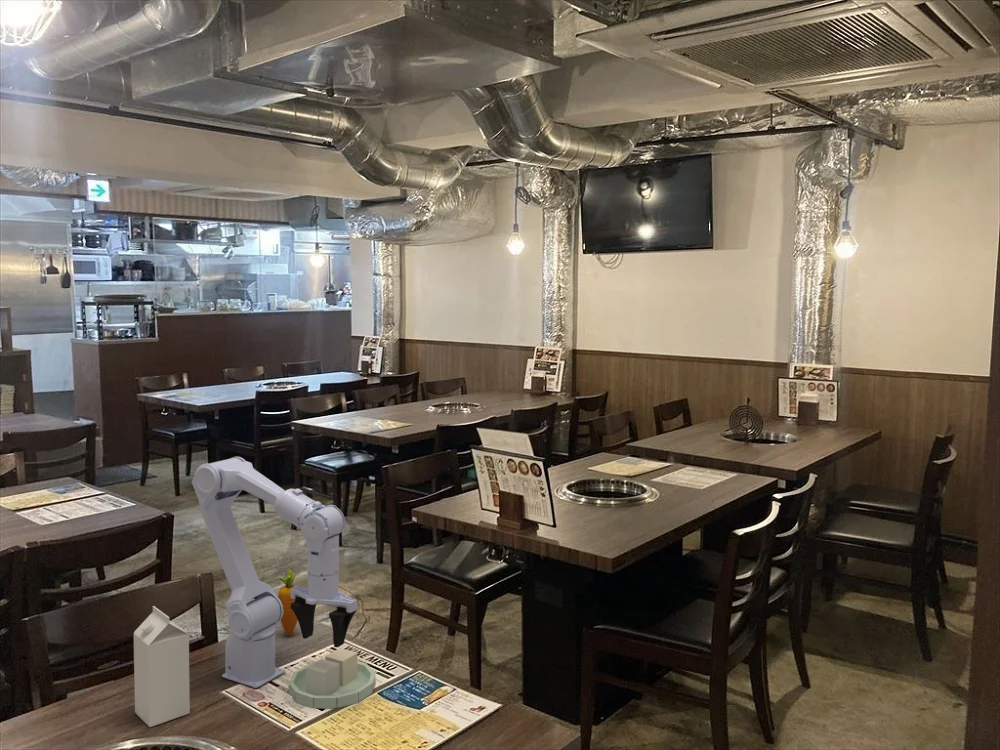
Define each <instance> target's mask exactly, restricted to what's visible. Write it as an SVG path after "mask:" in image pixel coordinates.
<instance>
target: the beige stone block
mask: <svg viewBox="0 0 1000 750" xmlns="http://www.w3.org/2000/svg"><path fill="white" fill-rule="evenodd" d="M324 660H328V661H331V662H335V663H338V664H339V685H340V686H344V685H346V684H347V683H349V682H350V681H352V680H353V679H355V678H357V661H358V652H355V651H352V650H349V649H345V648H341V647H338V648H337V649H335V650H334V651H332V652H331V653H329V654H327V655H325V657H324Z"/></svg>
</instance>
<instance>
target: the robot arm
mask: <svg viewBox="0 0 1000 750" xmlns="http://www.w3.org/2000/svg"><path fill="white" fill-rule="evenodd" d="M253 466H254V465H253V463H252V462H249V461H246V459H244V458H243V457H241V456H233V457H231V458H228V459H223V460H218V461H214V462H210V463H203V464H200V465H199V466H198V467H197V468H196V471H195V473H194V475H193V478H192V480H191V485H192V487H193V490H194V492H195V495H196V496H197V499H198V504H199V510H200V514H201V516H202V519H203V521H204V524H205V526H206V527H205V528H206V529H207V531H208V533H209V537H210V539H211V542H212V545H213V547H214V549H215V552H216V555H217V557H218V560H219V562H220V565H221V567H222V570H223V572H224V575H225V577H226V580H227V583H228V585H229V587H230V590H231V594H230V596H229V598H228V600H227V603H226V604H225V609H226V611H227V617H228V618H227V620H228V626H229V627H228V628H229V630H230V631H231V632H230V633H229V635H228V636H227V637H226V641H225V645H224V650H225V653H224V654H225V655H224V659H225V660H224V661H225V662H224V663H225V668H224V669H225V671H224V672H225V673H223V674H222V675H221V677H222V678H224V679H226V680H230V681H233V682H235V683H239V684H242V685H245V686H247V687H250V688H255V689H258V688H260V687H262V686H264V685H265V684H266V683H269V682H271V681H272V680H274V679H276V678H278V677H279V676H282V675H283V674H285V673H286V672H285V671H286V670H285V669H283V668H280V667H276V630H277V628H278V623H279V622H281V618H282V616H283V605H282V603H281V601H280V599H279V598H278V596H277V595H276V594H275V592H274V590H273V588H272V586H271V585H270V584H267V583H266V582H263V581H262V580H261V579H259V576H258V574H257V571H256V568H255V567H254V564H253V561H252V559H251V556H250V553H249V550H248V548H247V546H246V543H245V541H244V538H243V536H242V533H241V531H240V529H239V526H238V524H237V521H236V519H235V516H234V513H233V511H232V505H233V503H234V501H235V500H236V498H238V496H239V495H240V493H241V492H242V491H245V492H247V493H248V494H251V495H252V496H254V497H257V498H259V499H261V500H262V501H265V502H266V503H268V504H270V505H271V506H272V505H273V506H274V511H275V514H276V515H278V516H279V517H280V518H282V519H283V520H285V521H287V522H289V523H291V524H292V525H294V526H295V527H297V528H299V529H300V531H301V534H302V536H303V538H304V539H305V545H306V546H305V548H307V586H302V585H296V587H293V588H291V598H292V599H295V602H293V603H291V609H292V610H293V612H294V614H295V615H296V617H297V623H298V625H299V628H300V632H301V636H302V639H308V638H310V637H312V636H313V634H314V630H315V629H314V627H315V626H314V624H315V623H314V622H315V612H316V606H317V605H324V606H328V607H332V608H335V609H334V610H332V611H331V612H329V613H328V616H329V617H328V618H329V619H330V622H331V626H332V642H333V643H332V644H333V647H334V648H340V647H341V646H343V645H344V644H345V641H346V636H347V632H348V629H349V626H350V624H351V621H352V619H353V618H354V616H355V613H356V612H357V610H358V600H357V599H356V598H353V597H350V596H349V595H346V594H345V593H343V592H341V591H340V589H339V584H340V583H339V581H340V577H339V576H340V574H339V571H340V570H339V569H340V535H339V534H341V533H342V532H343V531H344V528H345V527H346V518H345V515H344V513H343V512H342V511H341V509H340V508H338V507H337V506H336V505H334V504H328V505H324V504H322V502H320V501H319V500H317V501H316V500H314V499H313V498H310V497H309V496H307V495H306V494H304V493H303V492H304V491H303V490H301V488H289V489H286V490H285V489H283V488H282V487H280V486H279V485H278V484H276V483H275V482H274V481H272V480H270V478H267V477H266V476H265V475H263V474H262V473H260V472H259V471H258V470H256V469H255V468H254V467H253ZM251 599H253V600H251ZM250 600H251V601H250Z"/></svg>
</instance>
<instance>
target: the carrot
mask: <svg viewBox="0 0 1000 750" xmlns="http://www.w3.org/2000/svg"><path fill="white" fill-rule="evenodd" d="M286 573H287V576H286V577H284V576H278V578H277V579H278V580H280V581H282V582H283V584H284V585H283V586H281V587H279V589H278V596H277V597H278V598H279V599H280V601H281V603H282V605H283V616H282V618H281V620H280V623H281V625H282V628H283V630H284V632H285V633H286V635H287V636H288V635H290V636H291V635H292V634H293V633H294V631H295V629H296V627H297V623H298V620H297V617H296V615H295V614H294V612H293V610H292V609H291V603H293V602H295V599H292V598H291V588H293V587H296V586H297V585H296V584H294V580H295V578H296V573H295V572H292V568H286Z"/></svg>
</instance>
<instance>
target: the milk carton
mask: <svg viewBox="0 0 1000 750" xmlns="http://www.w3.org/2000/svg"><path fill="white" fill-rule="evenodd" d="M189 637H190V634H189V633H188V632H187V631H185V630H184V629H182V628H181V627H180V626H179V625H178V624H176V623H175V622H173V621H171V620H170V616H168V615H167V614H166V613H164V612H163V611H162V610H160V609H159V608H157V607H156V606H155V605H152V612H151V613H150V614H149V615H148V616H147V617H146V618H145V619H144V621H143V622H142V623H140V625H139V626H138V627H137V628H136V629H135V631H134V632H133V666H134V667H133V670H134V674H133V675H134V713H135V714H136V715H137V716H138V717H139V718H140V719H141V720H142V721H143V722H144V723H145V724H146V725H147V726H148V727H149V728H152V727H155V726H157V725H160V724H164V723H166V722H169V721H172V720H174V719H177V718H180V717H184V716H186V715H188V714H190V713H191V712H190V711H191V709H190V706H191V705H190V703H191V701H190V696H191V695H190V643H189V642H190V640H189V639H190V638H189Z"/></svg>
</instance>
